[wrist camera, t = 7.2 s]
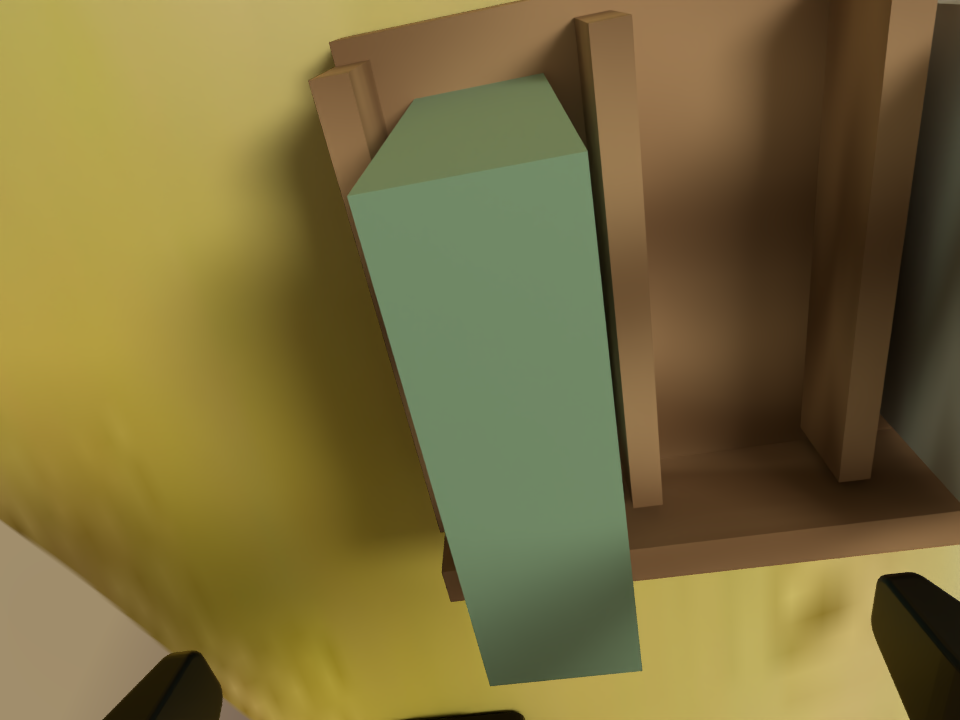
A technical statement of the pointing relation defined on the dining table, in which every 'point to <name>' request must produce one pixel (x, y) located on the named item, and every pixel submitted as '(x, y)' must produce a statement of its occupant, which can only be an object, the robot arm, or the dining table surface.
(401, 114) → the book rack
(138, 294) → the dining table surface
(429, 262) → the green book
